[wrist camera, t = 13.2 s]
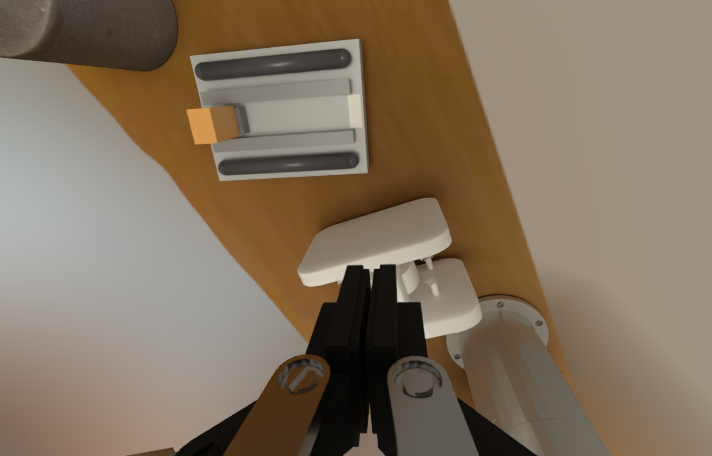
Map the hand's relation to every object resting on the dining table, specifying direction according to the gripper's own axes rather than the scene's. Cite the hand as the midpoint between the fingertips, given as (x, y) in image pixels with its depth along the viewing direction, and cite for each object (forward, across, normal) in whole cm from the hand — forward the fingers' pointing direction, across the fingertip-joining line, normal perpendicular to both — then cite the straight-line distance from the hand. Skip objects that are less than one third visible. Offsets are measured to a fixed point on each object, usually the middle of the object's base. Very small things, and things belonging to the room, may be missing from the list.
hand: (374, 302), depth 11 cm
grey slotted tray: (+26, +10, -6) cm, 29 cm away
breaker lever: (+23, +15, -6) cm, 28 cm away
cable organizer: (+27, 0, +10) cm, 29 cm away
